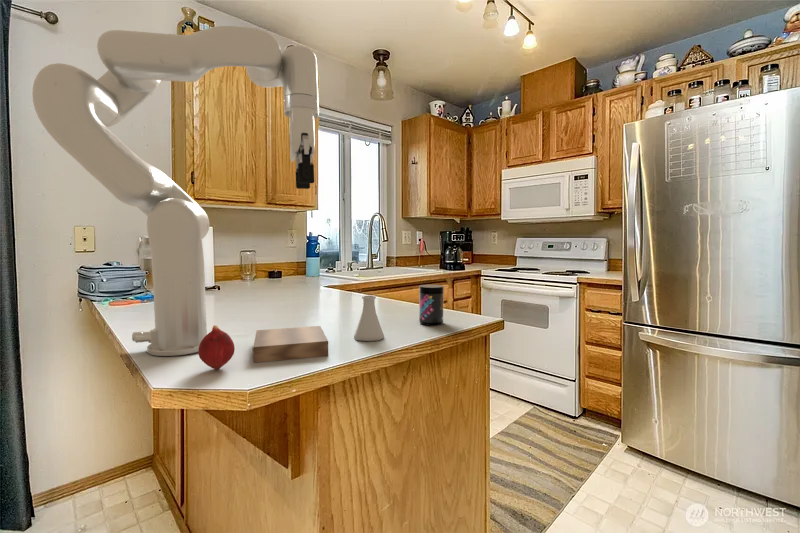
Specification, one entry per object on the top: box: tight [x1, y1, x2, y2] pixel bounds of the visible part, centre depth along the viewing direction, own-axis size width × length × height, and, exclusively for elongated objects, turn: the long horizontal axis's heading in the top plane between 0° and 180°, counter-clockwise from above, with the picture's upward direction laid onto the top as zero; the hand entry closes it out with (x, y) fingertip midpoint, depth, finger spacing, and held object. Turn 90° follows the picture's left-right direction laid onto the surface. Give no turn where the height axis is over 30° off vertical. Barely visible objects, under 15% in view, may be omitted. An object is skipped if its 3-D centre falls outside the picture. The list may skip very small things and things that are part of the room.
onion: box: [197, 324, 236, 371], centre depth 69 cm, size 6×6×8 cm
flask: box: [353, 294, 385, 342], centre depth 91 cm, size 7×7×10 cm
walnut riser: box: [252, 325, 329, 364], centre depth 82 cm, size 14×14×3 cm
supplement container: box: [418, 284, 445, 327], centre depth 106 cm, size 7×7×10 cm
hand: (304, 185), depth 88 cm, fingers open, 9 cm apart
